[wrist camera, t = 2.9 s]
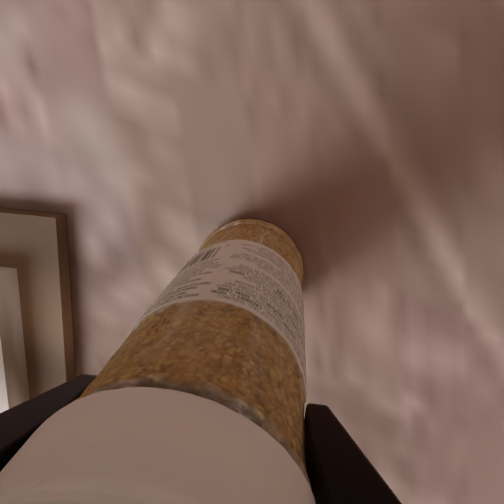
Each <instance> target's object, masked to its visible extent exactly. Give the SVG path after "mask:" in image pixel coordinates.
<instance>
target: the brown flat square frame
mask: <svg viewBox="0 0 504 504" xmlns="http://www.w3.org/2000/svg"><path fill="white" fill-rule="evenodd" d="M74 378H76V376H75V359H74V342H73V324H72V307H71V290H70V273H69V256H68V239H67V222H66V214H61V213H51V212H41V211H31V210H21V209H11V208H1V207H0V413H2V412H4V411H6V410H8V409H10V408H12V407H14V406H17V405H19V404H21V403H23V402H25V401H27V400H29V399H31V398H34V397H36V396H38V395H40V394H42V393H44V392H46V391H48V390H50V389H53V388H55V387H57V386H59V385H61V384H63V383H65V382H67V381H69V380H72V379H74Z"/></svg>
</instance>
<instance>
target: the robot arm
mask: <svg viewBox="0 0 504 504" xmlns="http://www.w3.org/2000/svg"><path fill="white" fill-rule="evenodd" d="M96 377H97V376H95V375H88V374H83V375H80V376H78V377H76V378H74V379H72V380H69V381H67V382H65V383H63V384H61V385H59V386H57V387H55V388H53V389H50V390H48V391H46V392H44V393H42V394H40V395H38V396H36V397H34V398H31V399H29V400H27V401H25V402H23V403H21V404H19V405H17V406H14V407H12V408H10V409H8V410H6V411H4V412H2V413H0V472H1V471H2V469H3V468H4V467H5V466H6V465H7V464H8V462H9V461H10V460H11V459H12V458H13V457H14V455H15V454H16V453H17V452H18V451H19V449H20V448H21V447H22V446H23V445H24V444H25V442H26V441H27V440H28V439H29V438H30V437H31V435H32V434H33V433H34V432H35V431H36V430H37V429H38V428H39V427H40V426H41V425H42V424H43V423H44V422H45V421H46V420H47V419H48V418H49V417H51V416H52V415H53V414H55V413H56V412H57V411H58V410H60V409H62V408H63V407H65V406H67V405H68V404H70V403H71V402H73V401H74V400H76V399H78V398H80V396H81V395H82V393H83V392H84V390H85V389H86V388H87V387H88V386H89V384H90V383H91V382H92V381H93V380H94V379H95V378H96ZM304 433H305V439H304V447H305V455H306V458H305V464H306V472H307V475H308V478H309V481H310V484H311V488H312V493H313V495H314V499H315V503H316V504H402V503H401V502H400V501H399V499H398V498H397V497H396V495H395V494H394V493H393V491H392V490H391V489H390V488H389V486H388V485H387V484H386V482H385V481H384V480H383V478H382V477H381V476H380V474H379V473H378V472H377V470H376V469H375V468H374V467H373V465H372V464H371V463H370V461H369V460H368V459H367V457H366V456H365V455H364V453H363V452H362V451H361V449H360V448H359V447H358V445H357V444H356V443H355V442H354V440H353V439H352V438H351V436H350V435H349V434H348V432H347V431H346V430H345V428H344V427H343V426H342V424H341V423H340V422H339V421H338V419H337V418H336V417H335V415H334V414H333V413H332V411H331V410H330V409H329V407H327V406H326V405H319V404H311V403H309V404H308V405H307V406H306V411H305V419H304Z"/></svg>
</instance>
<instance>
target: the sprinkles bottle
mask: <svg viewBox="0 0 504 504" xmlns="http://www.w3.org/2000/svg"><path fill="white" fill-rule="evenodd" d="M302 282H303V265H302V257H301V254H300V252H299V251H298V249H297V247H296V245H295V243H294V242H293V241H292V240H291V238H290V237H289V236H288V235H287V234H286V233H285V232H284V231H282V230H281V229H279V228H278V227H277V226H275V225H274V224H271V223H267V222H265V221H262V220H255V219H241V220H235V221H231V222H229V223H227V224H225V225H223V226H221V227H219V228H218V229H217V230H215V231H214V232H212V233H211V234H210V235H209V236H208V237H207V238H206V240H205V242H204V243H203V244H202V246H201V247H200V250H199V252H198V253H197V254H195V255H194V256H193V257H192V258H191V259H190V260H189V261H188V262H187V264H186V265H185V266H184V267H183V268H182V270H181V271H180V272H179V273H178V274H177V275H176V277H175V278H174V279H173V280H172V281H171V282H170V284H169V285H168V286H167V287H166V288H165V290H164V291H163V292H162V293H161V294H160V296H159V297H158V298H157V299H156V300H155V302H154V303H153V304H152V305H151V306H150V308H149V309H148V310H147V311H146V312H145V313H144V315H143V316H142V317H141V318H140V319H139V321H138V322H137V323H136V324H135V325H134V327H133V328H132V329H131V331H130V332H129V333H128V335H127V336H126V338H125V339H124V341H123V343H122V345H121V346H120V348H119V349H118V350H117V351H116V352H115V354H114V355H113V356H112V357H111V359H110V360H109V361H108V363H107V364H106V366H105V367H104V368H103V370H102V371H101V372H100V373H99V374H98V376H97V377H96V378H95V379H94V380H93V381H92V382H91V383H90V384H89V386H88V387H87V388H86V389H85V390H84V392H83V393H82V395H81V396H80V398H78V399H76V400H74V401H73V402H71V403H70V404H68V405H67V406H65V407H63V408H62V409H60V410H58V411H57V412H56V413H55V414H53V415H52V416H51V417H49V418H48V419H47V420H46V421H45V422H44V423H43V424H42V425H41V426H40V427H39V428H38V429H37V430H36V431H35V432H34V433H33V434H32V435H31V437H30V438H29V439H28V440H27V441H26V442H25V444H24V445H23V446H22V447H21V448H20V449H19V451H18V452H17V453H16V454H15V455H14V457H13V458H12V459H11V460H10V461H9V462H8V464H7V465H6V466H5V467H4V468H3V469H2V471H1V472H0V504H316V503H315V499H314V495H313V493H312V488H311V484H310V481H309V478H308V475H307V472H306V464H305V458H306V455H305V447H304V439H305V433H304V403H305V401H306V397H307V388H306V361H305V332H304V307H303V295H302V289H301V287H302Z"/></svg>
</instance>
